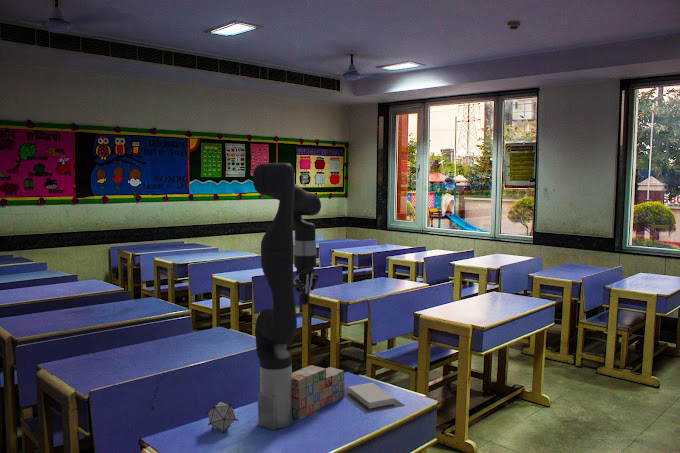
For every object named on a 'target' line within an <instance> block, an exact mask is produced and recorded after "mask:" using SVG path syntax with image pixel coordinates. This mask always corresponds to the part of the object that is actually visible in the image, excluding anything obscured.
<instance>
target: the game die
mask: <svg viewBox="0 0 680 453" xmlns="http://www.w3.org/2000/svg"><path fill="white" fill-rule="evenodd" d="M232 404H233V403H232V402H230V403H229V404H228V403H227V402H226V403H225V402H223V401H222V400H221V398H219V399H218V402H217V404H215V405H212V408H211V409H210V410H209V411H207V410H206V411H205V414H208V415H207V416H208V419H209V423H208V425H207V426H210V425H211V426H212V427H211V430H213V429H217V430H220V431H222V434H223V435H225V431H226V430H227V429H228V428H229V427H231V425H232V423H234V422H235V421H239V419H238V418H236V416H235V411H234V410H235V408H236V407H234V406H233V407H232Z"/></svg>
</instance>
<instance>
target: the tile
mask: <svg viewBox="0 0 680 453" xmlns="http://www.w3.org/2000/svg"><path fill="white" fill-rule="evenodd" d="M347 388H348V392H349V393H350V394H351V395H353V396H354V397H355V398H357V399H358V400H359V401H360V402H362V403H363V404H364V405H365V406H367V407H368V408H376V407H381V406H386V405H391V404H395V399H396V398H395V397H394V396H393V395H391V394H390V393H388V391H385V390H384V389H382V388H381V387H379V386H378V385H377V384H375V383H374V382H368V383H363V384H362V383H361V384H355V385H351V386H348V387H347Z"/></svg>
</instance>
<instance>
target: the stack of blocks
mask: <svg viewBox="0 0 680 453" xmlns="http://www.w3.org/2000/svg"><path fill="white" fill-rule="evenodd" d="M345 387H346V386H345V370H344V369H338V368H335V367H331V366H328V367H327V368H324V367H321V366H316V365H313V364H312V365H308V366H306V367H303V368H300V369H298V370H296V371H292V418H293V419H294V418H295V419H298V420H301V419H303V418H306V417H307V416H310V415H312V414H314V413H316V411H317V410H319V409H321V408H323V407H325V406H327V405H329V404H332V403H334V402H336V401H339V400H340V399H343V398H345V397H344V389H346V388H345Z"/></svg>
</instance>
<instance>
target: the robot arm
mask: <svg viewBox="0 0 680 453" xmlns="http://www.w3.org/2000/svg"><path fill="white" fill-rule="evenodd" d="M295 175H296V174H295V169H294V167H293V165H292V164H291V163H289V162H265V163H263V162H262V163H260V164H258V165H256V166H255V168H254V169H253V173H252V184H253V187H254V190H255V191H256V192H257V193H258V194H259V195H261V196H267V197H270V198H273V199H275V200H277V201H278V202H279V203H278V207H277V211H276V214H275V216H274V218H273V220H272V221H271V223H270V225H269V226H268V228H267V230H266V231H265V232H264V235H263V236H262V239H261V242H260V266H261V269H262V272H263V275H264V278H265V280H266V282H267V285H268V286H269V289H270V291H271V297H272V307H271V308H269V307H268V308H264V309H263V310H261V312H260V313H259V314H258V316H257V317H256V321H255V328H254V329H255V330H254V331H255V333H254V334H255V347H256V348H255V350H256V356H257V358H258V361H259V392H258V393H257V420H258V422H257V423H258V426H260V427H263V428H265V429H266V428H267V429H269V430H273V431H276V430H277V429H283V428H287V427H289V426H290V425H292V423H293V417H292V373H293V368H292V365H293V363H292V361H293V360H292V358H293V357H292V354H291V353H290V352H289V351H288V349H287V348H285V345H288V344H290V343H291V342H292V341H293V340H294V338H295V336H296V333H297V328H298V322H297V321H298V320H297V319H298V318H297V310H296V302H295V300H296V299H295V291H296V292H297V293H300V302H301V305H305V306H306V305H309V304H310V293H311V291H314V289H315V287H316V285H317V282H318V279H319V276H320V275H318V274H316V273H315V269H314V268H316V267H317V241H316V225H315V223H312V222H308V221H306V220H304V219H303V216H304V217H305V216H310V217H311V216H317V215H318V214H319V212H321V209H322V202H321V199H320V197H319V196H318V195H317V194H316V193H313V192H310V191H306V190H304V189H303V188H302V187H301V186H299V185H298V184H296V178H295ZM293 227H294V228H293ZM294 268H296V272H295V277H294ZM294 289H295V290H294Z"/></svg>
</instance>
